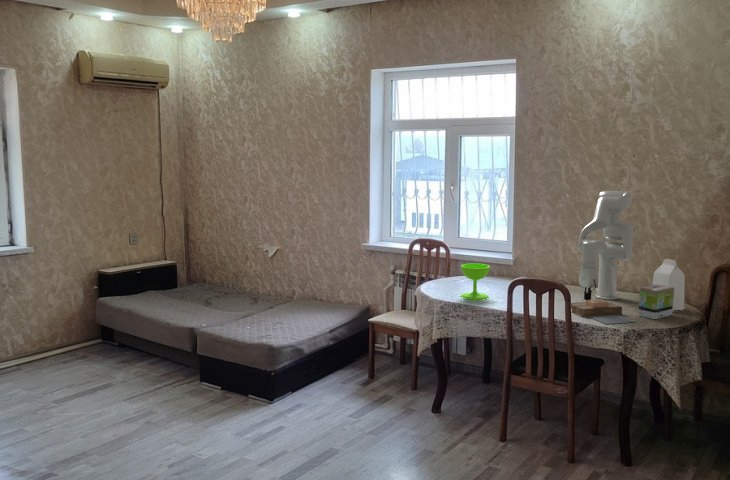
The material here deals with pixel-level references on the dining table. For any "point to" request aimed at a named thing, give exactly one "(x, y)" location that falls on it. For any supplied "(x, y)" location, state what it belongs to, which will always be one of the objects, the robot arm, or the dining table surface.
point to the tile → (597, 303)
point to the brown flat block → (595, 310)
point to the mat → (611, 319)
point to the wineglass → (475, 279)
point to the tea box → (656, 301)
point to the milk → (671, 281)
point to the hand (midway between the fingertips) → (587, 299)
